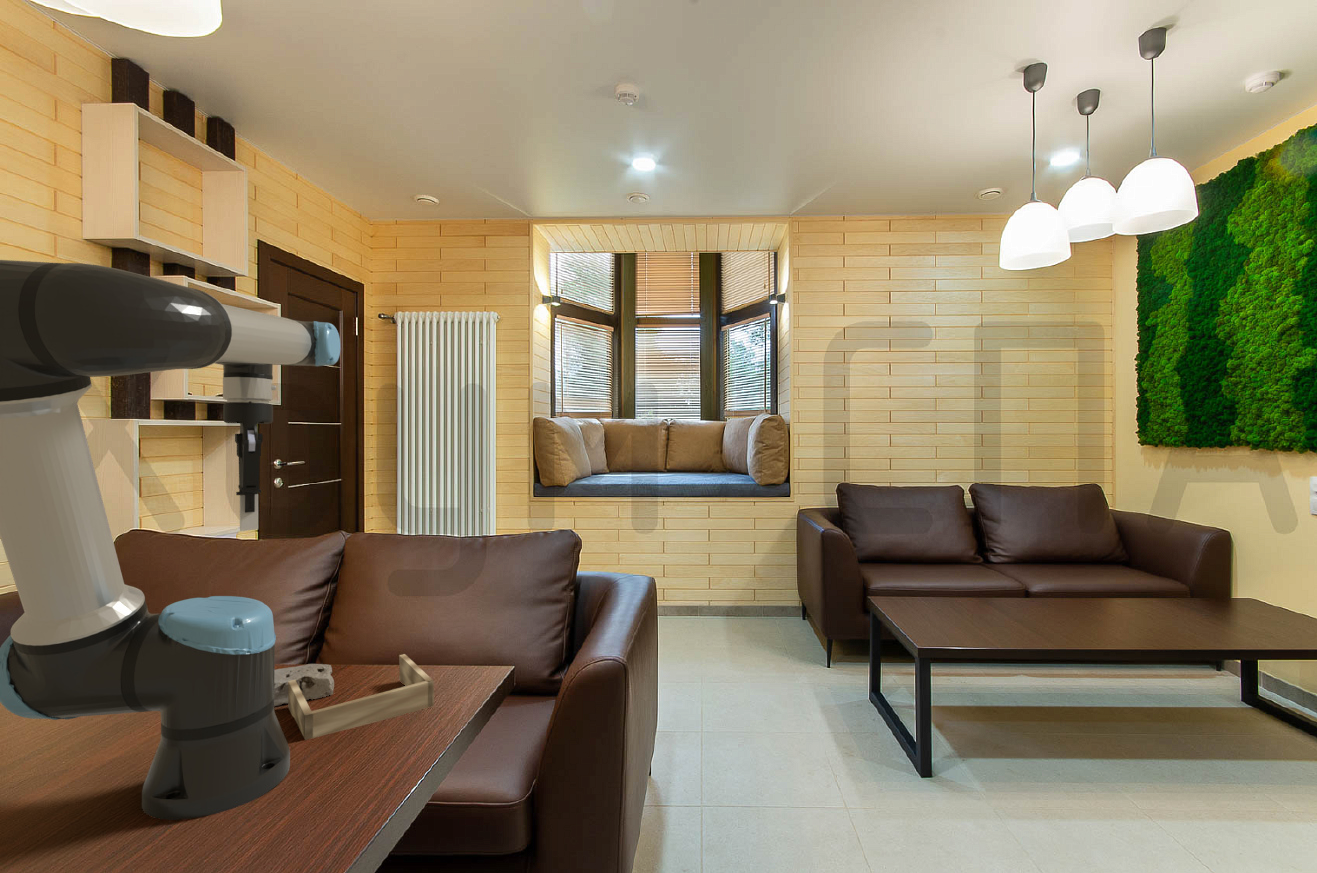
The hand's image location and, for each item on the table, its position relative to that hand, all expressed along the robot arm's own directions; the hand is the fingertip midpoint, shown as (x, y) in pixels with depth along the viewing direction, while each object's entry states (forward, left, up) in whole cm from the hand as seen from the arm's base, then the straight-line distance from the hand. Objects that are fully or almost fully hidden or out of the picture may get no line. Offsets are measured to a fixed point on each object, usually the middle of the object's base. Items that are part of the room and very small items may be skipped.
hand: (249, 529), depth 108 cm
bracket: (-23, -14, -30) cm, 40 cm away
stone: (-15, -6, -27) cm, 32 cm away
